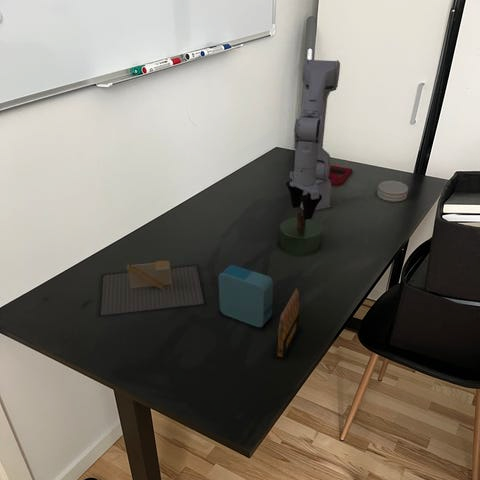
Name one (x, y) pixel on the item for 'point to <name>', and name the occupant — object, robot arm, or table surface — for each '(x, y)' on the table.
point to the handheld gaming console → (338, 175)
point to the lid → (300, 227)
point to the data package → (246, 295)
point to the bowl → (299, 244)
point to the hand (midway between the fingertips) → (301, 212)
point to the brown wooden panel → (288, 325)
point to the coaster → (392, 191)
